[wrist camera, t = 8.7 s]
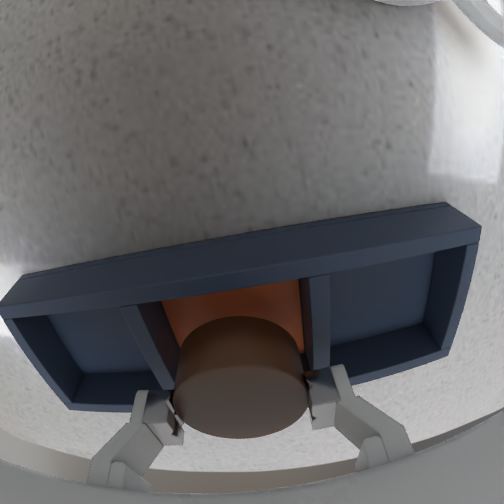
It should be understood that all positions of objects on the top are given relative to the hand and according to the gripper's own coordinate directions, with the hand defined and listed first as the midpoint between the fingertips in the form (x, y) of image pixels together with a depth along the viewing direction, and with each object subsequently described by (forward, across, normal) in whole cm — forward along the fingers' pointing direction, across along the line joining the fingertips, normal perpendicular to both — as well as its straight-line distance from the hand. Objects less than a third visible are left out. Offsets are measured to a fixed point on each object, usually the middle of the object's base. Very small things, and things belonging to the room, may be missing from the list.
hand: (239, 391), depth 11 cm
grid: (+5, 0, 0) cm, 5 cm away
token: (+2, 0, 0) cm, 2 cm away
